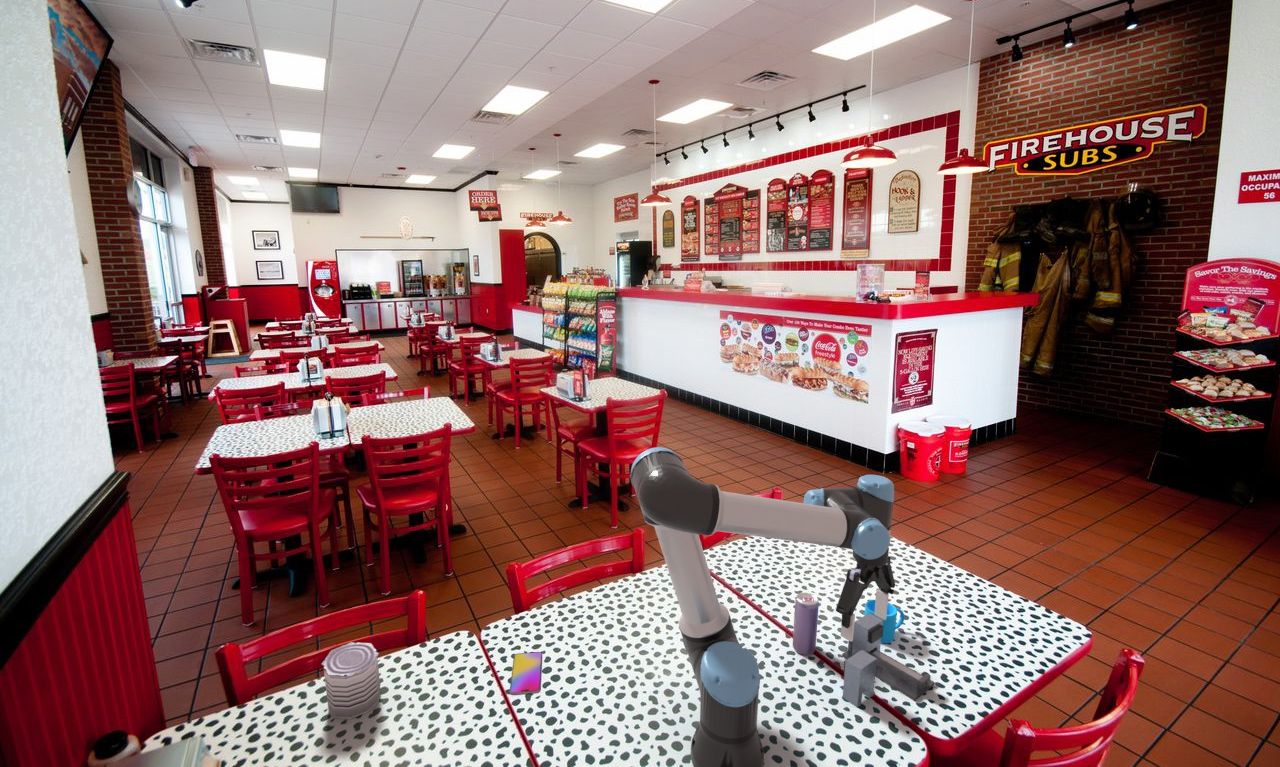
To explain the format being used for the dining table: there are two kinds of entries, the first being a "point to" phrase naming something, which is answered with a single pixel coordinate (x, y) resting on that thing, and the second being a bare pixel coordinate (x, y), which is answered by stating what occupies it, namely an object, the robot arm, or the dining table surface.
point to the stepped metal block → (859, 677)
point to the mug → (887, 620)
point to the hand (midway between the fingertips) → (863, 627)
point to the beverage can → (805, 623)
